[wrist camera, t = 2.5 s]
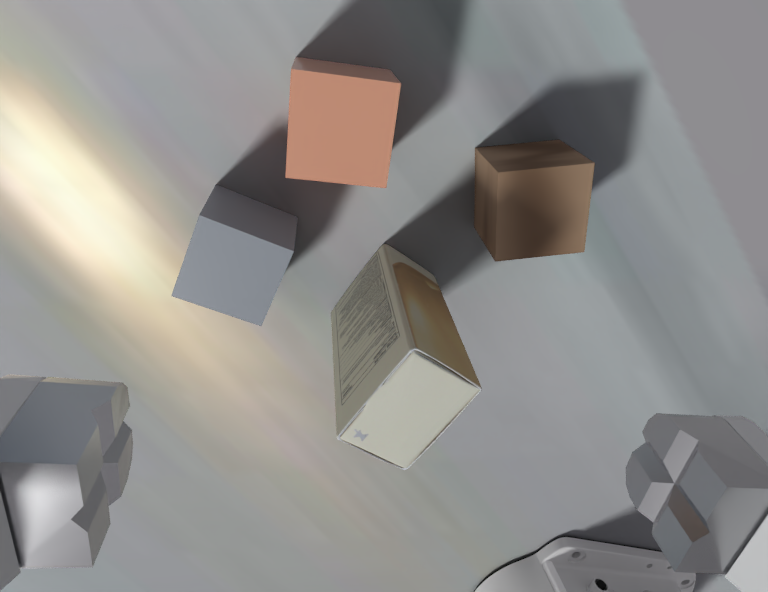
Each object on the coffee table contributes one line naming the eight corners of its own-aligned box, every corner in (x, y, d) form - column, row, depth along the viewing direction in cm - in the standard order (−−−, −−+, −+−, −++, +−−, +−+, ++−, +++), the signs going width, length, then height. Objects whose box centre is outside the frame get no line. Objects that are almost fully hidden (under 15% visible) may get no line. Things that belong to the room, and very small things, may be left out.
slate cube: (297, 216, 33) (293, 251, 29) (268, 284, 35) (261, 325, 31) (216, 183, 32) (199, 215, 28) (190, 256, 34) (171, 295, 30)
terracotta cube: (389, 69, 30) (401, 83, 25) (377, 160, 32) (386, 188, 28) (295, 56, 29) (290, 68, 25) (290, 151, 31) (285, 177, 27)
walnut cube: (558, 139, 33) (594, 162, 28) (552, 218, 35) (584, 251, 31) (474, 147, 32) (497, 172, 28) (473, 227, 35) (495, 261, 30)
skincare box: (381, 341, 38) (403, 478, 28) (328, 311, 37) (330, 444, 26) (439, 271, 36) (488, 391, 25) (386, 236, 34) (414, 349, 24)
